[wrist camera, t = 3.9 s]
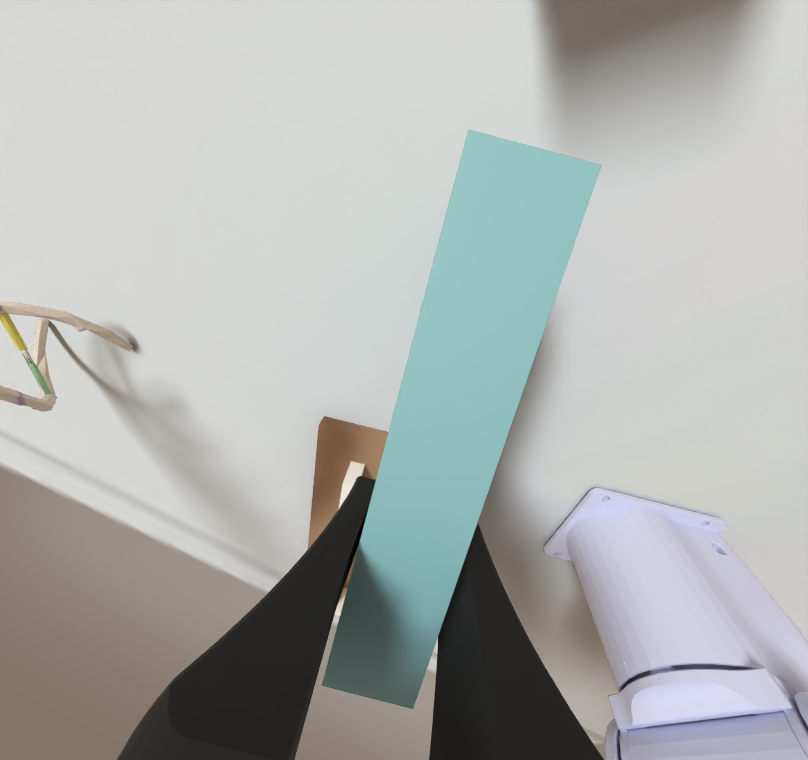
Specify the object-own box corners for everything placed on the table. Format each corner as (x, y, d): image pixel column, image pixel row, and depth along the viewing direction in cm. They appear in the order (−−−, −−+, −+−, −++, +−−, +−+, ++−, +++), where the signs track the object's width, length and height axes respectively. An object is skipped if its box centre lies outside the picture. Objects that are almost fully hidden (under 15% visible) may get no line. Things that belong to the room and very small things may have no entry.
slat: (522, 233, 11) (601, 165, 7) (414, 578, 14) (412, 708, 10) (446, 212, 11) (468, 129, 7) (354, 562, 14) (321, 685, 10)
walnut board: (493, 458, 21) (495, 469, 20) (413, 611, 33) (412, 622, 32) (324, 416, 21) (318, 425, 20) (307, 585, 33) (303, 595, 32)
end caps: (447, 485, 21) (447, 510, 19) (395, 605, 31) (392, 629, 29) (351, 461, 21) (342, 483, 19) (328, 589, 31) (321, 611, 29)
